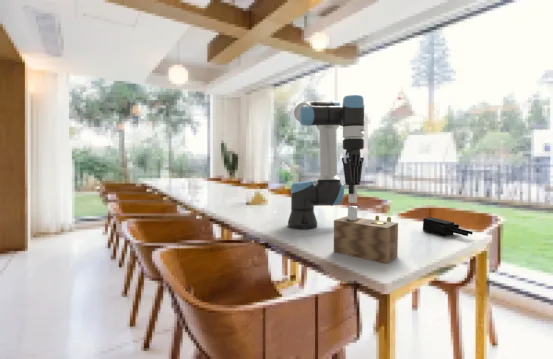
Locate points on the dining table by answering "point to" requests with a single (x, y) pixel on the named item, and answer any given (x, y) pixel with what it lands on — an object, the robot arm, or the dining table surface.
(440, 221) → the black pronged block
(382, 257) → the socket block
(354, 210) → the peg
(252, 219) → the dining table surface
